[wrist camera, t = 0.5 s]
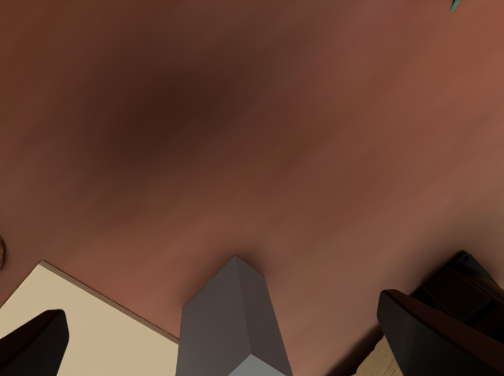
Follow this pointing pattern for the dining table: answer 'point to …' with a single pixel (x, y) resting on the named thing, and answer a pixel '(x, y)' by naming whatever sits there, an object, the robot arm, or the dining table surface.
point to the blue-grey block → (231, 328)
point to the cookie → (1, 252)
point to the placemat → (91, 328)
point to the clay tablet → (379, 362)
